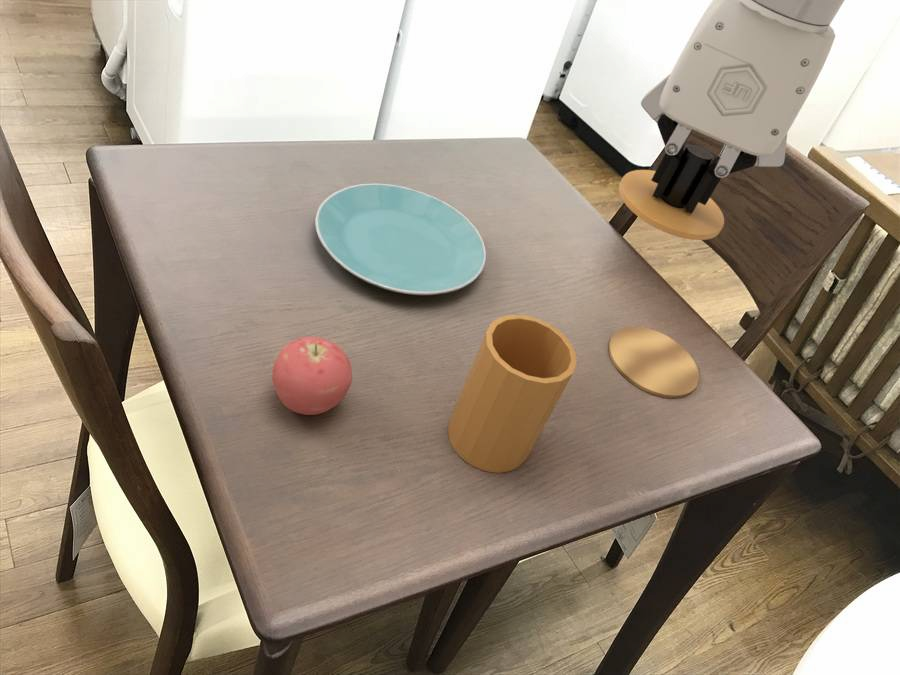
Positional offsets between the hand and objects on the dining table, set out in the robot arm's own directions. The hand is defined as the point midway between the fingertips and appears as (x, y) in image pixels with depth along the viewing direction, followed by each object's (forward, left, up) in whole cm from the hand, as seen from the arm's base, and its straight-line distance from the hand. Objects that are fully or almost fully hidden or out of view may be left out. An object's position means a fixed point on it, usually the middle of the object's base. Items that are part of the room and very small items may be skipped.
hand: (675, 197), depth 68 cm
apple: (+16, +24, -28) cm, 40 cm away
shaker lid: (0, 0, -1) cm, 1 cm away
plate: (+30, -2, -28) cm, 41 cm away
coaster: (-2, -17, -28) cm, 33 cm away
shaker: (+2, +11, -28) cm, 30 cm away
